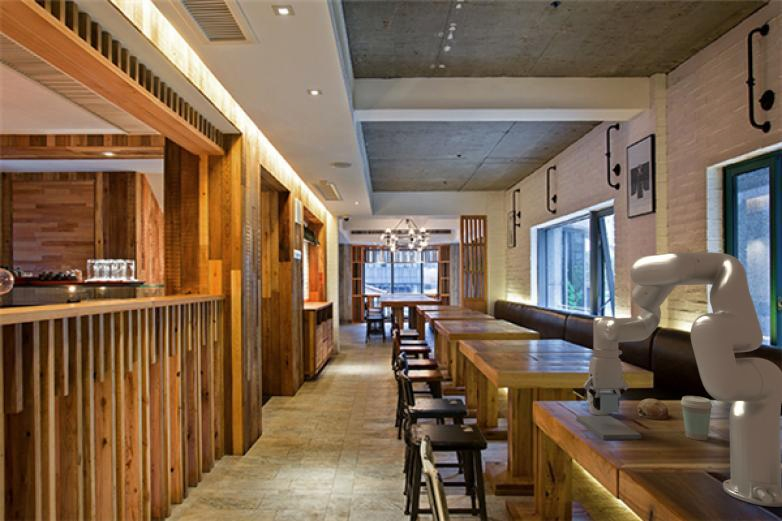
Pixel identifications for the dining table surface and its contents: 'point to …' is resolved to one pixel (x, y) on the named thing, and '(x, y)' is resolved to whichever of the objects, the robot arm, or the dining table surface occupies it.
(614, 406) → the cube
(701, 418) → the coffee cup
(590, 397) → the mug
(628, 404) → the dining table surface
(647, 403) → the bread roll
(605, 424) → the board
